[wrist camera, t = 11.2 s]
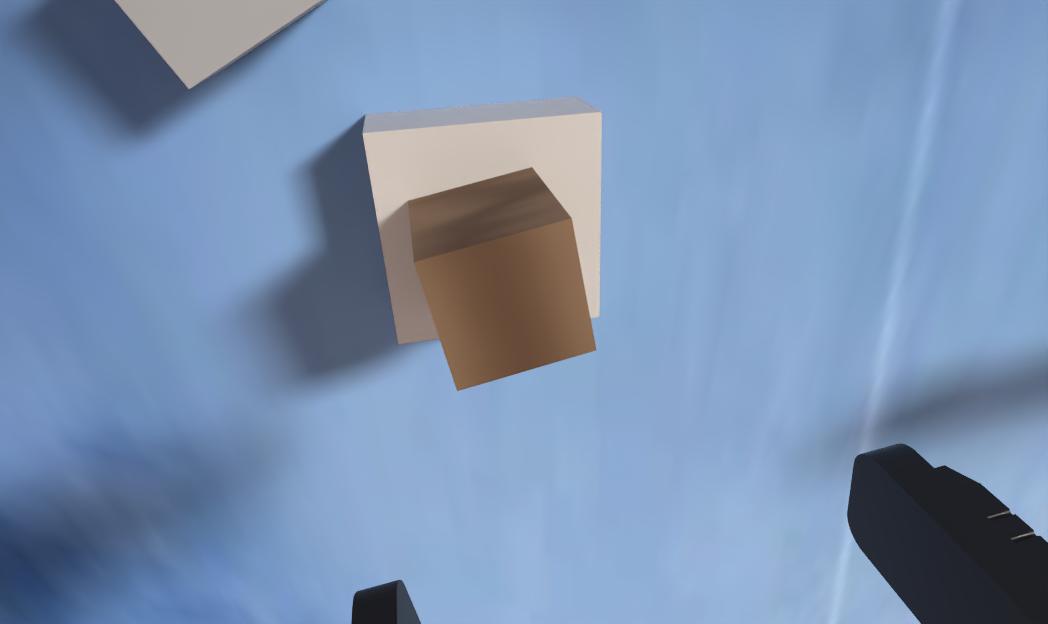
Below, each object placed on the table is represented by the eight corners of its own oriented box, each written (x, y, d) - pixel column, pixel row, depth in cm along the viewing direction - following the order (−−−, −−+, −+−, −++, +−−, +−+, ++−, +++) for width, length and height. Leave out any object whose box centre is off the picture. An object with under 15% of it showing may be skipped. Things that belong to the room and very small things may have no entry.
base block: (574, 94, 27) (601, 111, 24) (576, 279, 32) (599, 316, 28) (366, 112, 26) (362, 133, 23) (397, 302, 30) (398, 344, 27)
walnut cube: (531, 166, 24) (571, 218, 19) (555, 278, 27) (596, 350, 22) (407, 200, 24) (413, 262, 19) (443, 310, 26) (457, 391, 21)
